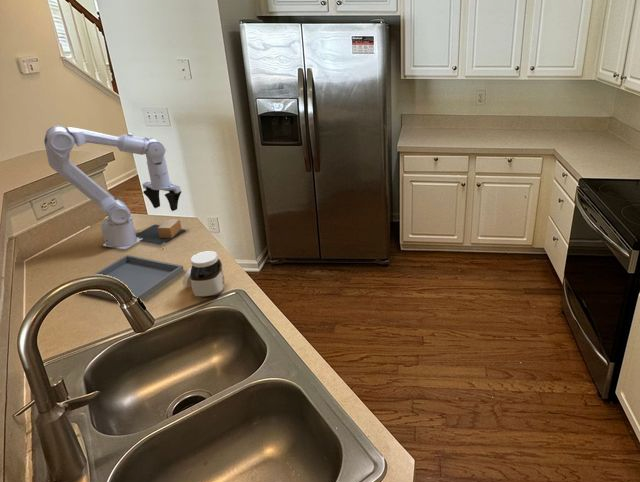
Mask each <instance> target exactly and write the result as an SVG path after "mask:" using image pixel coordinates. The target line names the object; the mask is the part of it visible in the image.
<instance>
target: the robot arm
mask: <svg viewBox="0 0 640 482" xmlns="http://www.w3.org/2000/svg"><path fill="white" fill-rule="evenodd" d="M43 141H44V147H45V152H46V157H47V163H48V165H49V167H50V168H51V169H52V170H53V171H55V172H56V173H58V175H60V176H61V177H62V178H64V179H65V180H66V181H67V182H69V183H70V184H71V185H72V186H74V187H75V188H76V189H77V190H79V192H81V194H83V195H85V196H86V197H87V198H88V199H90V201H92V202H94V203H95V204H96V205H97V206H98V207H99V209H100V210H102V212H103V213H105V214H106V215H107V217H108V218H106V219H104V221H103V222H102V223H101V228H100V229H101V232H102V236H103V240H104V243H103V245H102V246H103V247H107V248H111V249H112V248H116V249H121V250H126V249H128V248H130V247H131V246H134V245H135V244H136V243H138V242H140V241H139V240H142V239H143V238H141V239H139V238H138V237H136V234H137V233H136V229H135V225H134V221H133V217H132V212H131V210H130V209H129V208H128V206H127V204H126V202H125V201H124V200H123V199H121V198H118V197H115V196H113V194H111V193H109V192H108V191H106V190H105V189H104V188H103V187H102V186H100V185H99V183H97V182H96V181H94V180H93V179H92V178H91V177H90V176H89V175H87V174H86V173H85V172H84V171H82V169H80V168H79V167H78V166H77V165H75V164H74V163H73V162H72V161H71V160H70V153H71V152H72V150H73V149H74V146H75V144H76V147H77V148H78V147H81V146H84V145H85V144H94V145H101V146H107V147H108V146H110V147H116V148H117V149H118V150H119V151H120V152H123V153H129V154H135V155H139V156H140V155H141V156H142V155H145V157H146V166H147V171H148V174H149V180H150V181H145V182H142V189H144V190H143V191H142V192H143V193H142V194H144V196H146V197H147V198H148V200H149V201H150V203H151V205H152V207H153V208H154V209H158V208H159V207H161V201H160V191H163V192H167V193H164V196H165V198H166V199H167V202H168V203H169V204H168V205H169V208H170V211H171V212H175V211H176V210H178V207H179V206H178V204H179V200H180V196H181V194H182V189H181V186H180V185H176V184H173V182H172V181H171V180H170V177H169V171H168V165H167V161H166V157H165V154H166V148H165V146H164V145H163V144H162V143H161V142H160V141H159V140H158V139H155V138H153V137H148V136H145V137H141V136H135V135H134V134H133V133H130V132H128V133H127V134H125V133H123V134H121V135H119V136H116V135H112V134H111V135H110V134H107V133H102V132H98V131H92V130H89V129H84V128H78V127H73V126H72V127H71V126H67V127H65V126H62V125H54V126H50V127H49V128H48V129H47V130H46V132H45V135H44V140H43ZM137 238H138V239H137Z"/></svg>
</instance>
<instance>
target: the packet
mask: <svg viewBox="0 0 640 482" xmlns="http://www.w3.org/2000/svg"><path fill="white" fill-rule="evenodd" d="M181 229H182V223H181V219H178V218H177V219H175V218H173V219H171V218H168V219H166V220H165V221H164V222H162V223H161V224H160V226H159V227H158V233H159V238H172V237H174V236H175V235H176V234H177V233H178V232H179V231H180V230H181Z"/></svg>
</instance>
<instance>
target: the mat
mask: <svg viewBox="0 0 640 482" xmlns="http://www.w3.org/2000/svg"><path fill="white" fill-rule="evenodd" d="M160 225H161V224H160ZM160 225H159V224H153V225H151V226H149V227H148V228H147V227H146V229H144V230H142V231H140V232H137V233H136V237H138V238H139V239H141V238H143V239H142V240H139V242H141V243H148V244H151V245H152V244H153V245H156V246H157V245H158V246H161V245H163V244H164V243H166V244H167V243H169V242H171V241H172V240H173V239H174V240H175V238H177V237H179V236H180V235H182V234H183V233H186V229H184V228H183V229H181V230H180V231H179V232H178V233H177V234H176V235H175V236H174V237H172V238H159V233H158V227H159V226H160ZM138 238H137V239H138Z"/></svg>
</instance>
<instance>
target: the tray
mask: <svg viewBox="0 0 640 482" xmlns="http://www.w3.org/2000/svg"><path fill="white" fill-rule="evenodd" d="M184 272H185V269H184V266H183V265H181V264H176V263H171V262H166V261H160V260H154V259H149V258H146V257H140V256H134V255H130V254H126V255H125V256H124V255H123V257H121V258H119V259H117V260H116V261H114V262H112V263H110V264H109V265H107V266H105V267H103V268H102V269H100V270H99V271H97V272H95V273H94V274H103V275H109V276H112V277H115V278H117V279H119V280H120V281H122V282H123V283H124V284H126V285H127V286H128V288H129V289H130V290H131V292H132V293H133V294H134V295H135V296H136V297H138V298H139V299H141V300H142V302H143V301H145V300H146V299H148V298H149V297H150V296H151V295H152V296H153V294H155V293H156V292H157V291H159V290H161V288H163V287H164V286H166V285H167V284H169V283H170V282H172V281H173V280H174V279H176V278H177V277H178V276H180V275H181V274H183V273H184ZM83 293H84V294H87V295H93V296H97V297H102V298H106V299H110V300H113V301H117V300H116V299H115V298H114V297H113V296H111V295H110V294H108V293H105V292H102V291H87V292H82V294H83Z"/></svg>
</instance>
